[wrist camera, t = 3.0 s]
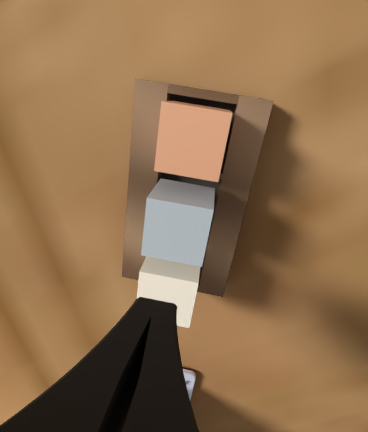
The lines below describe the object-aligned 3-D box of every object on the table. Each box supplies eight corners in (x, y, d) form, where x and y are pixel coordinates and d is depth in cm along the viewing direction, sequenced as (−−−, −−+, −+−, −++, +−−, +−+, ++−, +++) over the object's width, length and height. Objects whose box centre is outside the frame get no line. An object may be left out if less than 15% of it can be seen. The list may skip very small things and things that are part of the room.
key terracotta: (218, 166, 14) (218, 182, 12) (166, 157, 15) (154, 170, 12) (229, 109, 13) (232, 113, 11) (172, 100, 13) (161, 101, 11)
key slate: (205, 236, 15) (201, 266, 12) (155, 227, 15) (140, 255, 12) (215, 187, 14) (213, 209, 11) (160, 178, 14) (146, 197, 11)
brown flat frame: (222, 284, 19) (222, 296, 18) (127, 266, 19) (121, 276, 18) (269, 100, 14) (273, 100, 13) (141, 79, 14) (135, 78, 13)
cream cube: (193, 290, 17) (189, 327, 14) (148, 281, 17) (134, 316, 14) (202, 250, 15) (198, 283, 13) (153, 241, 16) (139, 271, 13)
